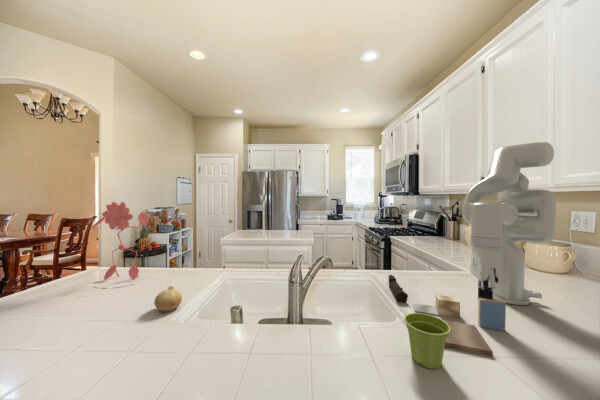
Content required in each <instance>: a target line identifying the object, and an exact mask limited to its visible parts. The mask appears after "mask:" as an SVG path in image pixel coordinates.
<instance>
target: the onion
mask: <svg viewBox="0 0 600 400" xmlns="http://www.w3.org/2000/svg"><path fill="white" fill-rule="evenodd" d="M182 301H183V296H182V293H181V291H179V290H178V289H176V288H175V287H174V286H173V285H171V286H169V285H167V289H164V290H162V291H160V292H159V293H158V294H157V295H156V297H155V299H154V302H153V303H154V306H155V308H156V310H157V311H158V312H162V313H166V312H172V311H174V310H175V309H176V308H178V307H179V306H181V303H182Z"/></svg>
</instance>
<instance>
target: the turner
mask: <svg viewBox="0 0 600 400" xmlns="http://www.w3.org/2000/svg"><path fill="white" fill-rule="evenodd" d="M412 306H413V309H414V313H417V312H418V313H423V314H428V315H432V316H435V315H436V316H435V317H440V316H445V317H449V318H450V317H452V318H456V319H457V318H458V319H461V301H460V299H458V297H456V296H448V295H442V294H435V306H433V305H427V304H422V303H421V304H420V303H415V302H413V303H412Z"/></svg>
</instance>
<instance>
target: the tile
mask: <svg viewBox="0 0 600 400" xmlns="http://www.w3.org/2000/svg"><path fill="white" fill-rule="evenodd" d="M477 301H478V305H477V309H478V311H477V314H478V315H477V325H478V326H479V327H480V328H485V329H491V330H497V331H503V332H506V319H507V318H506V311H507V310H506V309H507V306H506V305H507V303H505V302H504V301H499V300H495V299H493V300H492V299H484V298H478V297H477Z"/></svg>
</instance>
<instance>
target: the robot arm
mask: <svg viewBox="0 0 600 400" xmlns="http://www.w3.org/2000/svg"><path fill="white" fill-rule="evenodd" d="M554 156H555V151H554V146H553V145H552V144H551V143H549V142H546V141H545V142H544V141H543V142H542V141H541V142H540V141H537V142H529V143H522V144H514V145H507V146H503V147H500V148H498V149H497V150H495V152H493V154H492V157H491V161H490V164H489V165H490V166H489V169H488V171H487V176H486V177H485V178H484V179H482V180H481V181H479V182H477V183H476V184H475V185H473V186H472V187H471V188H470V189H469V190H468V192H467V193H466V195H465V198H464V202H463V205H462V208H461V209H462V210H461V215H462V219H463V220H464V221H466V222H467V223H470V224H471V225H470V226H471V227H470V228H471V229H470V246H471V255H470V267H469V268H470V270H469V271H470V274H471V275H473V277H475V278H476V279H477V286H478V287H477V299H478V298H484V299H492V300H499V301H504V302H505V303H506V304H510V305H514V306H528V305H530V304H531V300H530V299H531V298H535V299H543V294H542V293H541V292H537V291H535V292H534V291H533V290H529V289H526V288H525V269H526V268H525V264H526V263H525V259H526V257H525V252H524V250H523V249H522V247H521V246H520V245H519V244H518V243H517V242H524V243H531V244H542V245H543V244H545V245H547V244H549V243H551V242H552V241H553V239H554V236H555V229H556V214H557V213H556V212H557V200H556V196H555V194H554V193H553V192H552V191H551V190H548V189H539V188H538V189H529V185H530V181H529V178H528V177H527V176H526V175H524V174H523V172H521V169H527V168H537V167H547V166H548V165H550V164H551V162H553V160H554ZM495 194H498V195H497V200H496V201H481V200H482V199H484V198H486V197H488V196H489V197H490V196H492V195H495Z"/></svg>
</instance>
